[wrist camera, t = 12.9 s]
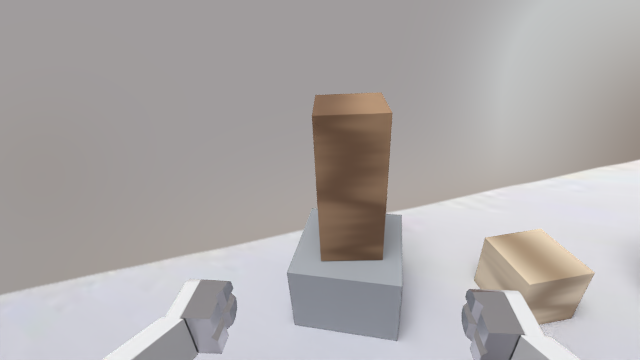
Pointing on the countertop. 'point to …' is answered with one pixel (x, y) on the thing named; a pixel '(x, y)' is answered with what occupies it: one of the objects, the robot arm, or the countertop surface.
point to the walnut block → (351, 174)
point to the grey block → (348, 286)
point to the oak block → (534, 273)
